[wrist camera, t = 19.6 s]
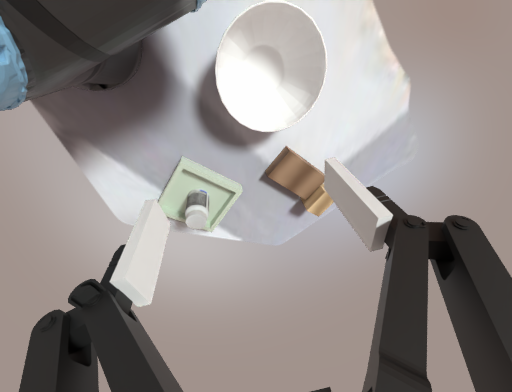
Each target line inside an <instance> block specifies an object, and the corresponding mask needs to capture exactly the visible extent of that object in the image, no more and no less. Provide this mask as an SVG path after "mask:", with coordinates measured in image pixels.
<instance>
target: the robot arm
mask: <svg viewBox="0 0 512 392" xmlns="http://www.w3.org/2000/svg"><path fill="white" fill-rule="evenodd" d="M206 1H207V0H0V111H4V110H10V109H13V108H16V107H18V106H19V105H20V104H21V103H22V102H25V101H28V100H31V99H34V98H37V97H40V96H43V95H46V94H49V93H53V92H56V91H59V90H62V89H65V88H68V87H72V86H73V87H77V88H81V89H85V90H92V91H103V90H109V89H113V88H116V87H118V86H120V85H122V84H124V83H126V82H127V81H128V80H130V79H131V78H132V77H133V75H134V74H135V72H136V71H137V69H138V67H139V64H140V61H141V57H142V39H144V38H145V37H147V36H149V35H151V34H152V33H154V32H156V31H157V30H159V29H161V28H163V27H164V26H166V25H168V24H170V23H171V22H173V21H175V20H177V19H178V18H180V17H182V16H184V15H185V14H187V13H189V12H196V11H198V9H199V8H201V6H202V4H203V3H204V2H206ZM324 189H325V190H326V192H327V193H328V194H329V196H330V197H331V199H332V200H333V201H334V203H335V204H336V205H337V207H338V208H339V210H340V211H341V212H342V214H343V215H344V216H345V218H346V219H347V221H348V222H349V223H350V225H351V226H352V228H353V229H354V230H355V232H356V233H357V234H358V236H359V237H360V239H361V240H362V241H363V243H364V244H365V246H366V247H367V248H368V250H369V251H370V252H371V251H375V250H379V249H382V248H383V245H384V242H385V243H386V244H387V245H388V247H389V249H388V252H387V255H386V265H385V271H384V276H383V282H382V288H381V294H380V300H379V305H378V311H377V317H376V323H375V328H374V334H373V340H372V346H371V351H370V357H369V363H368V369H367V374H366V378H365V381H364V386H363V390H362V392H432V388H431V384H430V382H429V380H428V379H427V372H426V367H427V366H426V364H427V363H426V362H427V304H428V259H430V261H431V263H432V266H433V269H434V272H435V275H436V278H437V281H438V284H439V287H440V290H441V293H442V295H443V298H444V301H445V304H446V307H447V310H448V313H449V315H450V319H451V321H452V324H453V327H454V330H455V333H456V336H457V339H458V342H459V345H460V347H461V350H462V353H463V356H464V359H465V362H466V365H467V368H468V371H469V374H470V376H471V380H472V382H473V385H474V388H475V391H476V392H512V278H511V277H510V275H509V273H508V271H507V270H506V268H505V266H504V265H503V263H502V262H501V260H500V259H499V257H498V255H497V254H496V252H495V251H494V249H493V247H492V246H491V244H490V243H489V241H488V239H487V238H486V236H485V235H484V233H483V231H482V230H481V228H480V227H479V225H478V224H477V223H476V222H474V221H473V220H471V219H469V218H466V217H463V216H457V215H452V216H448V217H447V218H446V219H445V220H444V222H426V221H424V220H423V219H421V218H420V217H417V216H412V215H407V214H406V213H405V212H404V211H403V210H402V209H401V208H400V207H399V206H398V205H396V204H395V203H394V202H393V201H392V200H390V198H389V197H388V196H386V195H385V194H384V193H383V192H382V191H381V190H380V189H378V188H376V187H373V186H371V187H366V188H365V187H364V186H363V185H362V184H361V183H360V182H359V181H358V180H357V179H356V178H355V177H354V176H353V175H352V174H351V173H350V172H349V171H348V170H347V169H346V168H345V167H344V166H343V165H342V164H341V163H340V162H339V161H338V160H337V159H336V158H335V157H333V158H329V159H325V175H324ZM170 225H171V224H170V222H169V220H168V219H167V217H166V215H165V214H164V212H163V210H162V209H161V207H160V205H159V204H158V202H157V200H156V199H152V200H147V201H145V203H144V205H143V207H142V210H141V212H140V214H139V217H138V219H137V221H136V223H135V226H134V228H133V230H132V232H131V235H130V237H129V239H128V241H127V244H125V245H121V246H120V247H119V248H118V250H117V251H116V252H115V253H114V255H113V258H112V261H111V262H110V264H109V267H108V268H107V270H106V272H105V274H104V277H103V279H102V281H101V283H99V282H98V281H96V280H95V279H90V280H87V281H84V282H83V283H81V284H80V285H78V286H77V287H76V288H75V289H74V290H73V291H72V293H71V294H70V296H69V298H68V303H70V304H71V305H73V306H74V307H76V308H74V309H72V310H70V311H68V312H66V313H65V312H63V311H61V310H54V311H52V312H49V313H48V314H46V315H45V316H44V317H42V318H41V319H40V320H39V321H38V322H37V324H36V325H35V326H34V328H33V330H32V333H31V337H30V341H29V346H28V351H27V356H26V360H25V366H24V370H23V375H22V379H21V384H20V389H19V392H99V389H98V388H99V387H98V361H97V356H98V358H99V361H100V363H101V366H102V369H103V371H104V374H105V376H106V379H107V382H108V384H109V387H110V389H111V392H183V390H182V389H181V387H180V386H179V384H178V382H177V381H176V379H175V378H174V376H173V375H172V373H171V371H170V370H169V368H168V367H167V365H166V363H165V362H164V360H163V358H162V357H161V355H160V353H159V352H158V350H157V349H156V347H155V346H154V344H153V343H152V341H151V339H150V337H149V336H148V334H147V333H146V331H145V330H144V328H143V326H142V325H141V323H140V321H139V320H138V318H137V317H136V315H135V313H134V312H133V311H132V310H131V305H132V302H133V303H134V304H135V305H136V306H137V307H140V306H144V305H148V304H151V301H152V297H153V293H154V289H155V285H156V281H157V277H158V273H159V269H160V265H161V261H162V257H163V253H164V249H165V245H166V241H167V237H168V233H169V229H170ZM311 392H331V389H330V387H328V388H324V389H320V390H316V391H311Z"/></svg>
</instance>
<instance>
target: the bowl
mask: <svg viewBox="0 0 512 392" xmlns="http://www.w3.org/2000/svg"><path fill="white" fill-rule="evenodd" d="M326 71H327V52H326V47H325V44H324V40H323V37H322V33H321V32H320V30H319V28H318V27H317V25H316V23H315V22H314V20H313V18H311V17H310V16H309V15H308V14H307V13H306V12H305V11H304V10H303V9H301V8H300V7H298V6H296V5H293V4H291V3H288V2H286V1H275V0H266V1H263V2H261V3H258V4H255V5H252V6H250V7H248V8H247V9H246V10H244V11H243V12H242V13H240V14H239V15H238V16H237V17H235V19H234V20H233V21H232V23H231V24H230V25H229V27H228V28H227V29H226V31H225V32H224V34H223V37H222V40H221V42H220V45H219V47H218V50H217V56H216V63H215V76H216V86H217V89H218V92H219V95H220V98H221V101H222V103H223V104H224V106H225V107H226V109H227V110H228V112H229V114H230V115H231V116H232V117H234V118H235V119H236V120H237V121H238V122H239V123H240V124H242V125H244V126H246V127H248V128H249V129H251V130H256V131H260V132H277V131H280V130H283V129H286V128H289V127H291V126H292V125H294V124H296V123H297V122H299V121H300V120H301V119H302V118H303V117H304V116H305V115H306V114H308V113H309V112H310V110H311V109H312V107H313V106H314V104H315V103H316V101H317V100H318V98H319V96H320V93H321V91H322V88H323V86H324V82H325V77H326Z"/></svg>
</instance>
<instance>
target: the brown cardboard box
mask: <svg viewBox="0 0 512 392" xmlns="http://www.w3.org/2000/svg"><path fill="white" fill-rule="evenodd" d="M265 171H266V174H267V176H268V177H269V178H271V179H272V180H274V181H275V182H277V183H279V184H280V185H282V186H284V187H285V188H287V189H289V190H290V191H292V192H294V193H295V194H297V195H298V196H300V197H302V198H303V199H305V200H306V199H307V198H308V197H309V196H310V195H311V194H312V193H313V192H314V191H315V190H316V189H317V188H318V187H319V186H320V185H322V184H323V183H324V174H323V173H322V172H321V171H320V170H318V169H317V168H315V167H314V166H313V165H311V164H310V163H309V162H307V161H306V160H305V159H303V158H302V157H301V156H299V155H298V154H296V153H295V152H294V151H292V150H291V149H290V148H288V147H287V146H286V147H285V148H284V149H283V150H282V151H281V153H280V154H279V155H278V156H277V157H276V159H275V160H274V161H273V162H272V163H271V165H270V166H269V167H268V168H267V169H266V170H265Z"/></svg>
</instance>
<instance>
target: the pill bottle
mask: <svg viewBox="0 0 512 392" xmlns="http://www.w3.org/2000/svg"><path fill="white" fill-rule="evenodd" d="M185 216H186V225H187V226H188V227H189V228H191V229H201V228H203V227H205V225H206V223H207V218H208V216H209V194H208V193H207V192H206V191H205V190H203V189H194V190H192V191H190V192H189V194H188V198H187V204H186V210H185Z"/></svg>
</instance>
